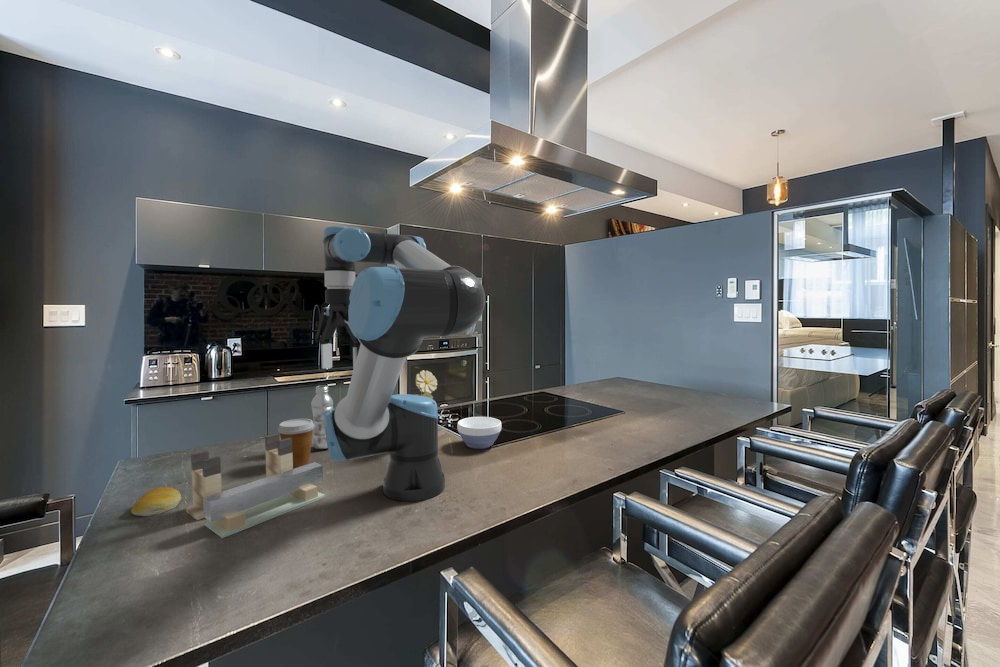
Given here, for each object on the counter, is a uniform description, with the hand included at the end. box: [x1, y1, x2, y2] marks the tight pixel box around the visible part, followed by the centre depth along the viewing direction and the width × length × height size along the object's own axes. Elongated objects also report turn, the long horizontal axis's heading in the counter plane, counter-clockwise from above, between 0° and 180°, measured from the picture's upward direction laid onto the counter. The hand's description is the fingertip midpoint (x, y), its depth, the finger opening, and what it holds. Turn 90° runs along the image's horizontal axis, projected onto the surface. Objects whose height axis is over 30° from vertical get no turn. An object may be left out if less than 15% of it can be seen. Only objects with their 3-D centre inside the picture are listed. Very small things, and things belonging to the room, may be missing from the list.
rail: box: [203, 461, 324, 522], centre depth 94 cm, size 4×24×4 cm, turn 145°
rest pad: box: [205, 484, 326, 539], centre depth 94 cm, size 8×22×3 cm, turn 145°
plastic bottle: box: [310, 384, 334, 450], centre depth 135 cm, size 6×7×20 cm
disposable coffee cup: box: [277, 418, 314, 468], centre depth 122 cm, size 10×10×12 cm
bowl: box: [456, 416, 502, 450], centre depth 139 cm, size 14×14×8 cm
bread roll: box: [130, 486, 182, 517], centre depth 96 cm, size 8×9×4 cm
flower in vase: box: [414, 369, 439, 399], centre depth 136 cm, size 13×11×25 cm
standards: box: [186, 433, 294, 521], centre depth 100 cm, size 7×22×12 cm, turn 145°
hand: (342, 370), depth 111 cm, fingers open, 13 cm apart
